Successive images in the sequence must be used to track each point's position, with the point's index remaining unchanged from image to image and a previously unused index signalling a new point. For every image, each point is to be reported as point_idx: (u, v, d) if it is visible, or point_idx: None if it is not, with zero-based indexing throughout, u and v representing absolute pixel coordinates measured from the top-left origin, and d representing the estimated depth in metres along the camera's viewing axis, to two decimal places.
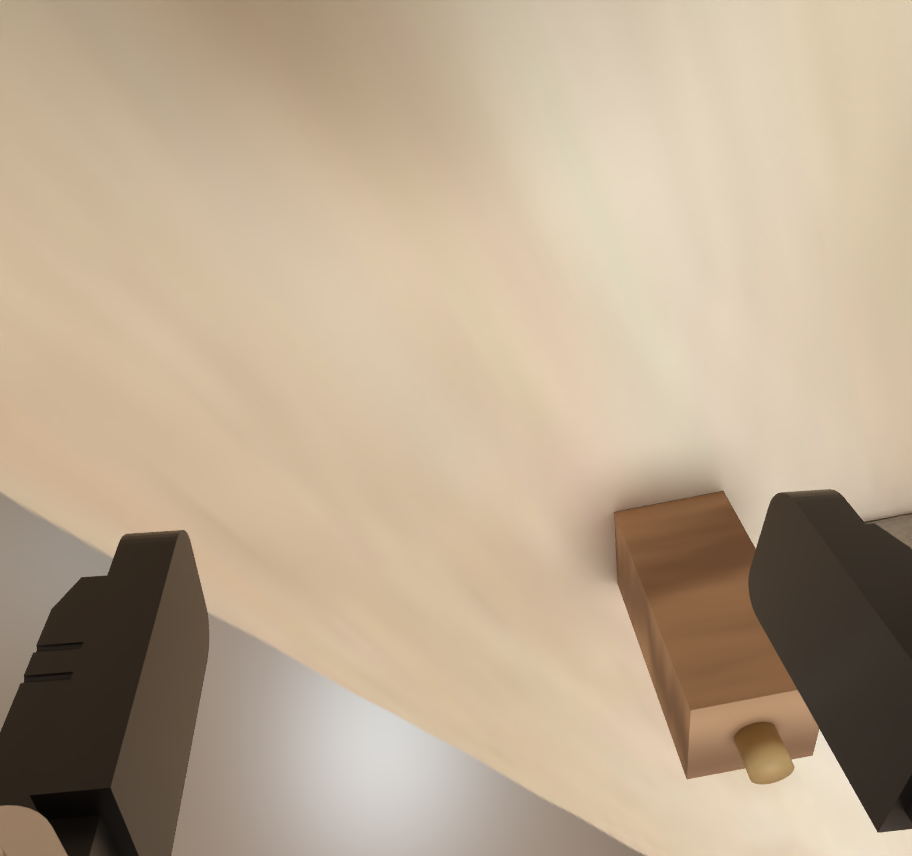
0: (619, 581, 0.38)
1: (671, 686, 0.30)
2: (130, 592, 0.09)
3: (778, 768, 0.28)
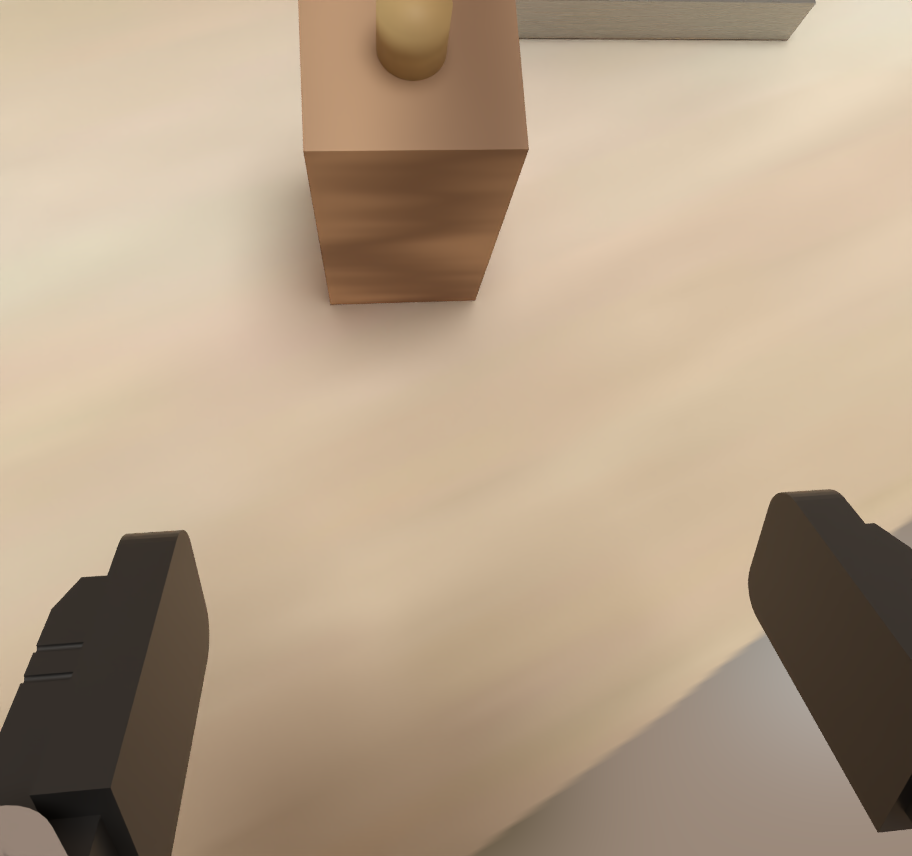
0: (458, 296, 0.27)
1: (378, 193, 0.19)
2: (130, 592, 0.09)
3: None
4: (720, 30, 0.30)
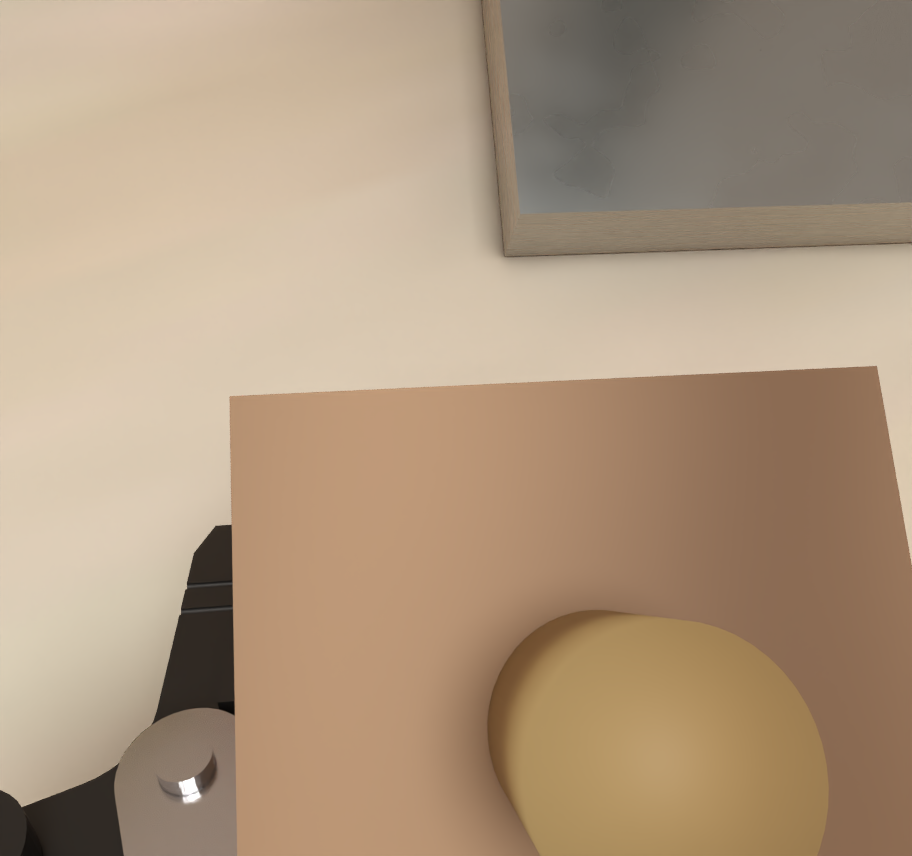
0: None
1: None
2: None
3: (631, 740, 0.04)
4: None
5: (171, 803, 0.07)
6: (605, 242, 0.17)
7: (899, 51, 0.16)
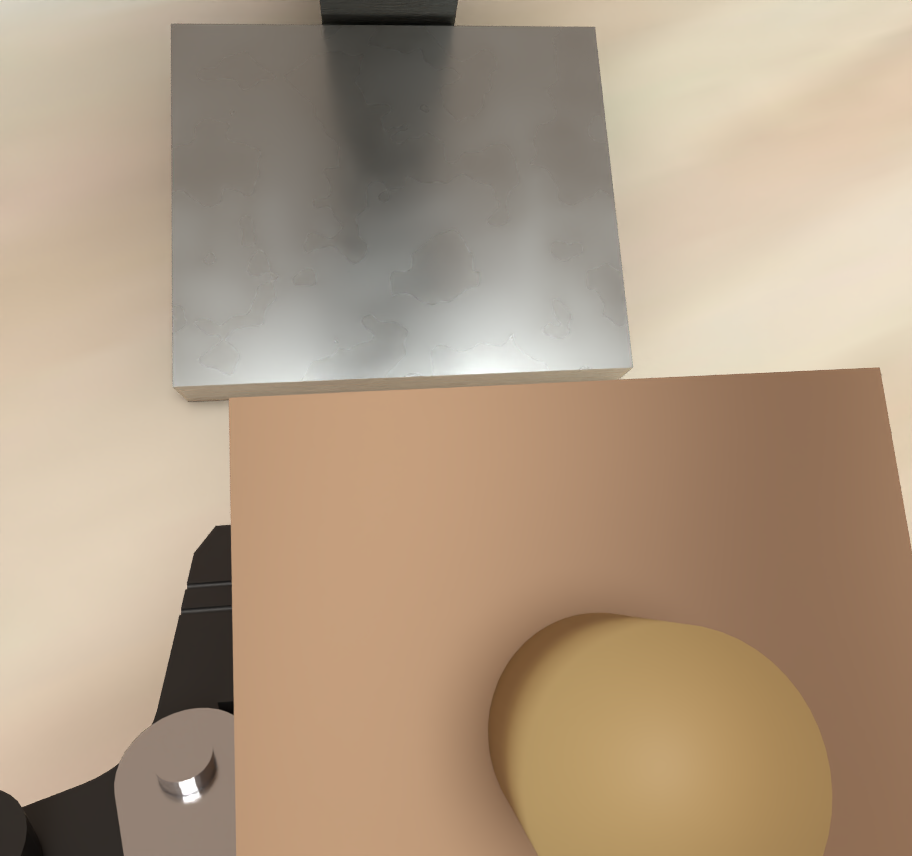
0: None
1: None
2: None
3: (633, 746, 0.04)
4: (531, 382, 0.26)
5: (171, 803, 0.07)
6: (252, 394, 0.25)
7: (445, 271, 0.25)
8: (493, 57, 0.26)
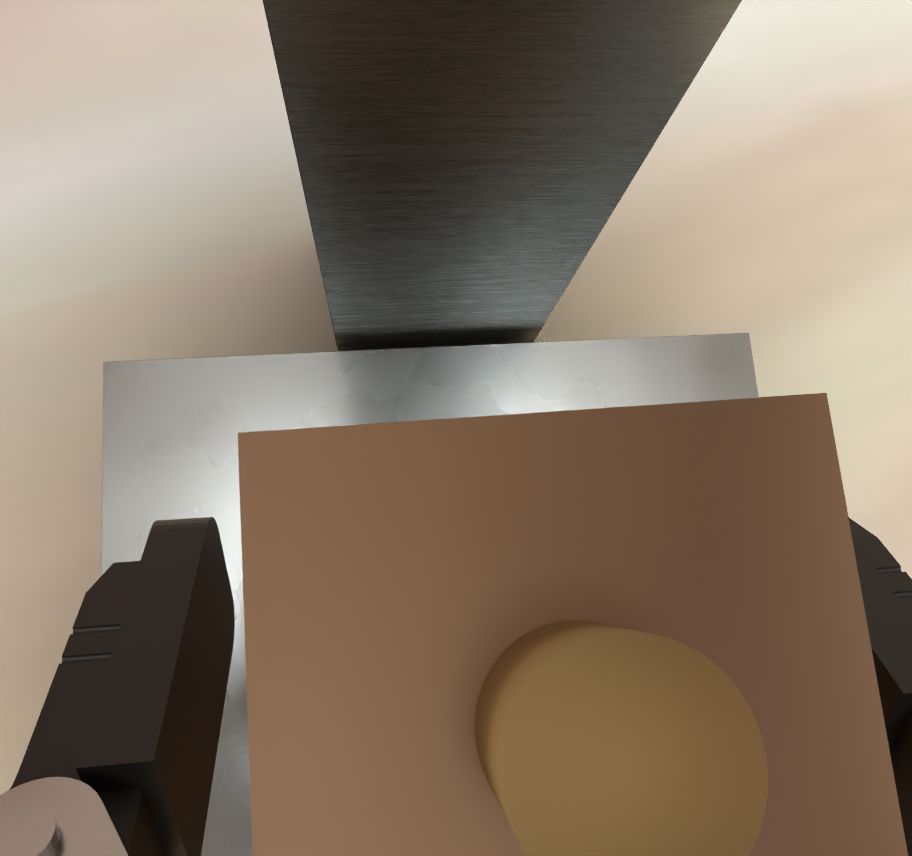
0: None
1: None
2: (164, 576, 0.09)
3: (595, 738, 0.05)
4: None
5: None
6: None
7: None
8: (597, 391, 0.17)
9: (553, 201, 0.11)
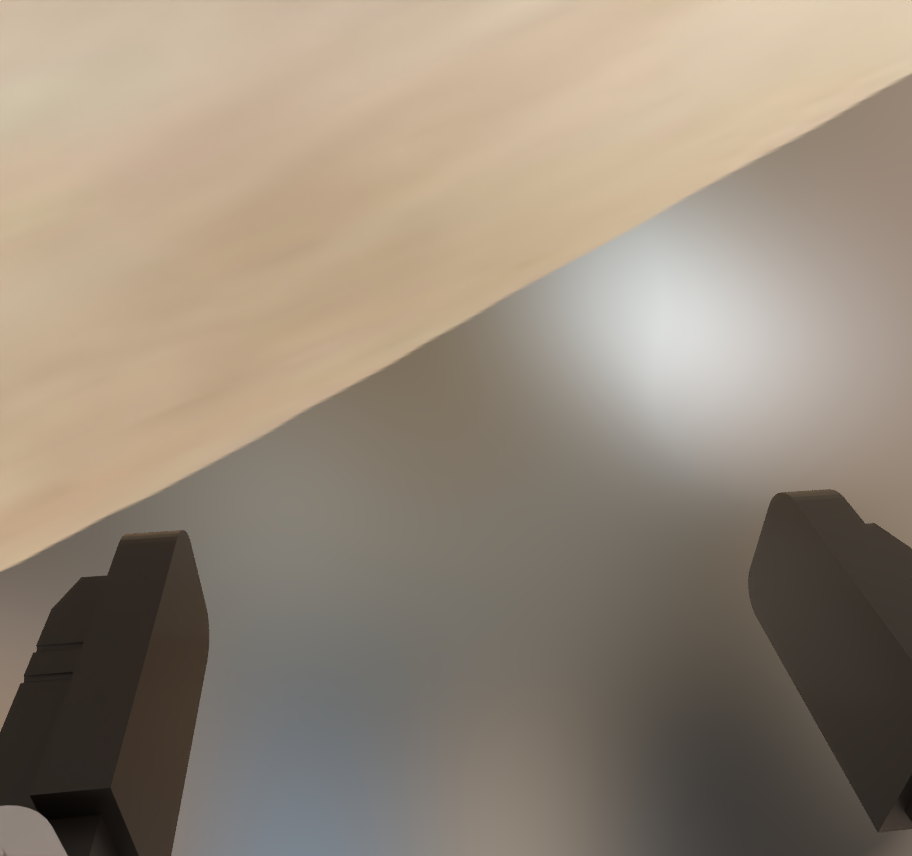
0: None
1: None
2: (130, 592, 0.09)
3: None
4: None
5: None
6: None
7: None
8: None
9: None
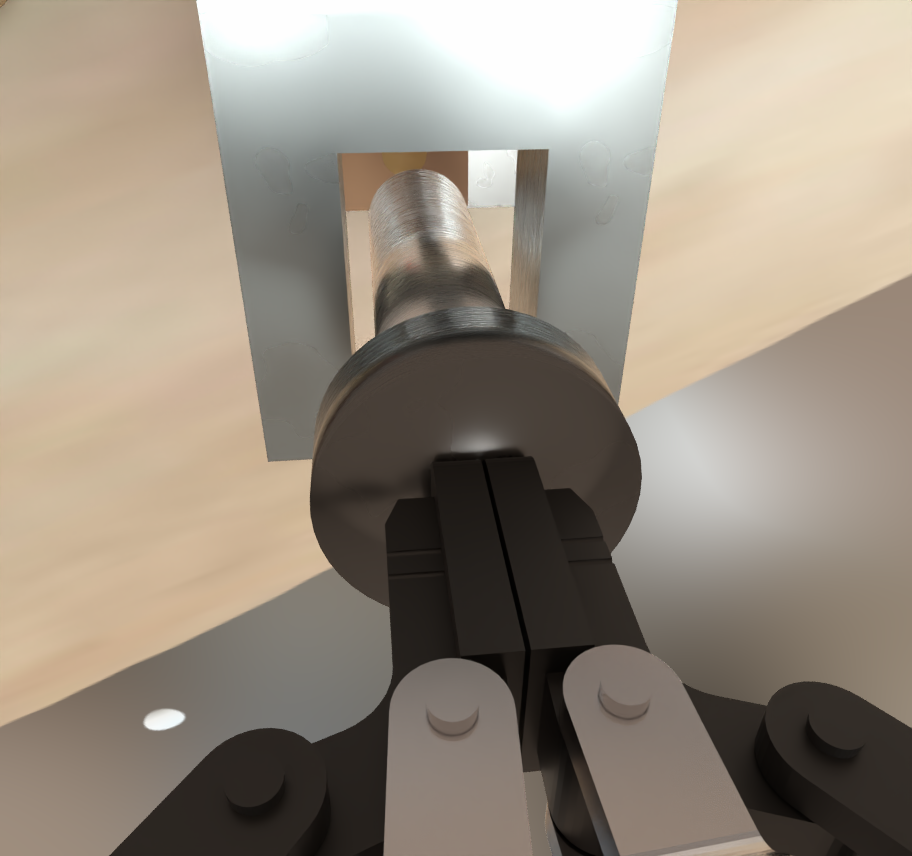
0: None
1: None
2: (464, 506, 0.10)
3: None
4: None
5: (450, 744, 0.07)
6: None
7: None
8: None
9: None
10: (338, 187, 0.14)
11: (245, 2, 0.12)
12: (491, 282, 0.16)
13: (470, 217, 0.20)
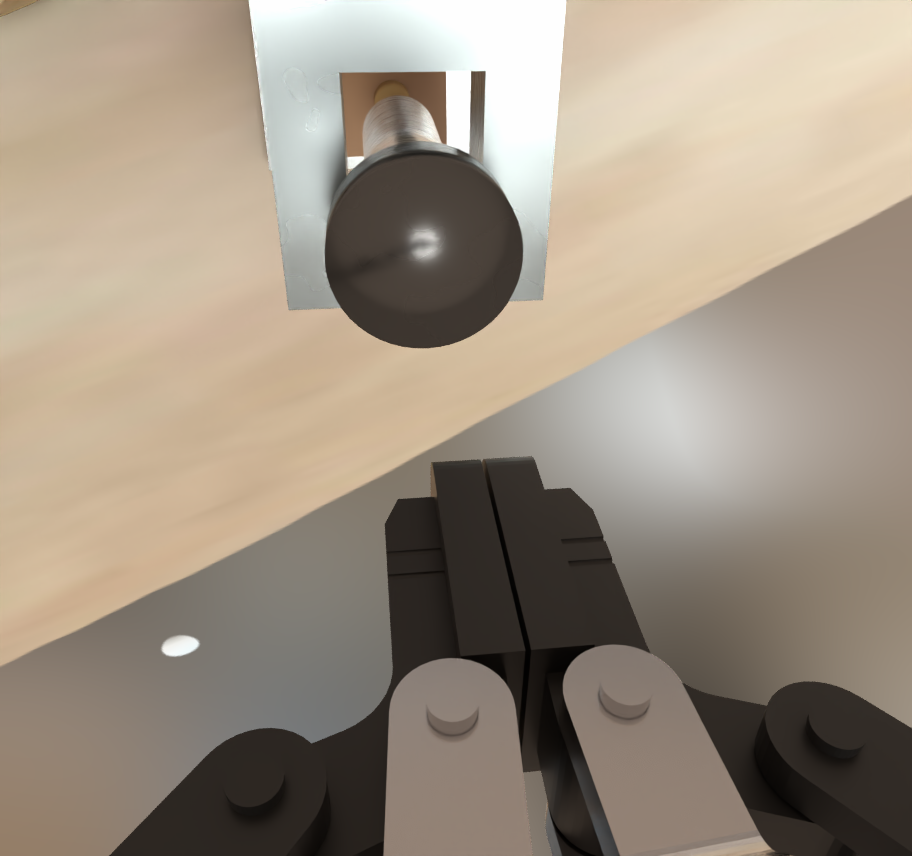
0: None
1: None
2: (464, 506, 0.10)
3: None
4: None
5: (450, 744, 0.07)
6: None
7: None
8: None
9: None
10: (340, 97, 0.21)
11: None
12: None
13: (435, 127, 0.28)
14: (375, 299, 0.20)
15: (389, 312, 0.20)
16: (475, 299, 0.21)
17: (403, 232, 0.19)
